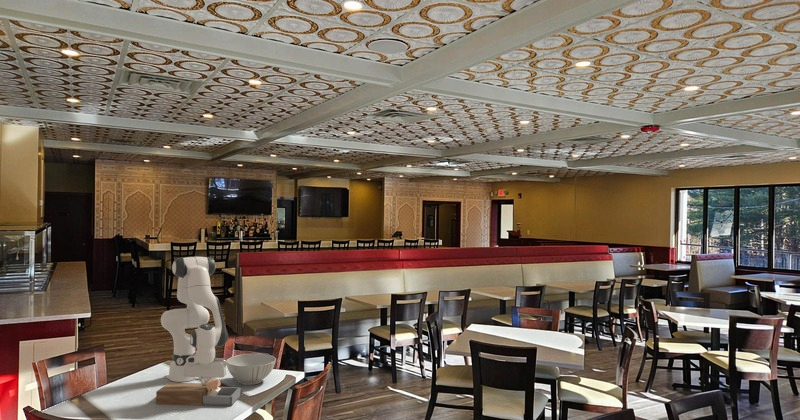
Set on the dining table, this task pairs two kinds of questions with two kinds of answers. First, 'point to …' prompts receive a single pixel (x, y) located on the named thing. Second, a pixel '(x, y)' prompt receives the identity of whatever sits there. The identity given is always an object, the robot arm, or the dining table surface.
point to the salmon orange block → (213, 384)
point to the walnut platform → (182, 394)
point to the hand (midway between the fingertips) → (204, 385)
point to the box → (223, 397)
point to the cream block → (215, 391)
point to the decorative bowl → (250, 367)
